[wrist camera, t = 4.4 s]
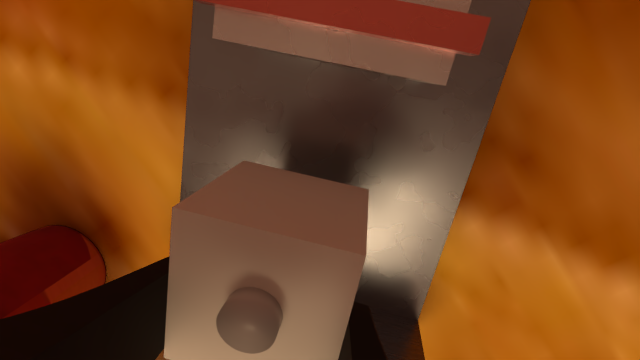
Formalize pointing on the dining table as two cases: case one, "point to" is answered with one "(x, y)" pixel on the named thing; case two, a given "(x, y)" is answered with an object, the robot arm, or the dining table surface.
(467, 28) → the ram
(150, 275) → the robot arm
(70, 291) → the paper cup
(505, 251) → the dining table surface
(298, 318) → the block
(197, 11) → the press
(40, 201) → the dining table surface
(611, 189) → the dining table surface
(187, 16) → the dining table surface
